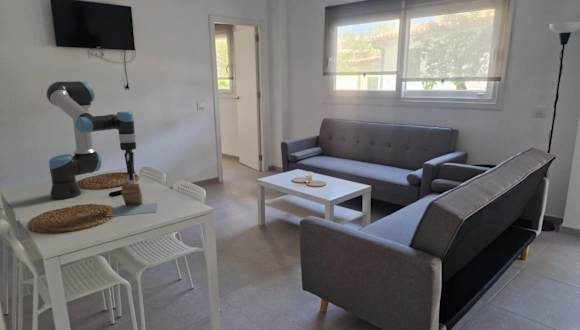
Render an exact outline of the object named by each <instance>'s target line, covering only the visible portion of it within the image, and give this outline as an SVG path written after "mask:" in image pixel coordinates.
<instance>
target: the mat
mask: <svg viewBox="0 0 580 330" xmlns="http://www.w3.org/2000/svg"><path fill="white" fill-rule="evenodd" d="M111 208H113V213H112V214H111V216H112V217H120V216H131V215H140V214H141V215H143V214H150V213H157V209H158V202H157V203H146V204H145V203H144V204H143V203H142V204H141V205H130V206H126V205H122V206H114V207H111Z"/></svg>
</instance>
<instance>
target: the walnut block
mask: <svg viewBox="0 0 580 330" xmlns="http://www.w3.org/2000/svg"><path fill="white" fill-rule="evenodd" d="M121 195H122V199H123V201H124V204H125V205H124V206H132V205H143V195H142V190H141V187H140V184H139V183H135V184H129V183H128V184H121Z"/></svg>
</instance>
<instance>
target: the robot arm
mask: <svg viewBox="0 0 580 330" xmlns="http://www.w3.org/2000/svg"><path fill="white" fill-rule="evenodd" d="M46 98H47V100H48V101H49V102H50V103H51V105H53V106H54V107H58V108H59V109H61V111H63V112H64V113H65V114H66V115H67V116H69V117H70V118H71V119H72V124H73V129H74V139H75V147H76V149H75V150H74V151H73V154H70V153H64V154H60V155H59V154H58V155H57V156H53V157H51V158H50V159H49V161H48V165H49V166H48V168H49V174H50V177H51V184H52V185H51V187H50V188H51V190H50V199H52V200H66V199H72V198H76V197H78V196H80V195H81V194H82V191H81V188H80V186H79V184H78V182H77V180H76V177H77V176H81V175H86V174H92V173H95V172H96V173H97V172H98V171H99V170H100V169H101V167H102V164H103V163H102V157H101V155H100V153H99V152H97V150H96V148H94V146H93V138H92V137H93V136H92V133H93V132H100V131H109V130H110V131H112V130H118V138H119V139H118V140H119V142H120V143H119V146H120V150H121V151H125V153H124V160H125V165H126V175H128V184H136V177H135V173H136V171H135V162H134V155H135V154H134V153H135V152H134V151H133V150H136V149H137V142H136V137H137V135H136V134H135V121H134V115H133V112H132V111H129V110H128V111H125V110H124V111H123V110H122V111H117V112H116V114H114V113H113V114H106V115H105V114H104V115H96V116H95V115H94V116H93V115H92V114H91V113H90V110H89V108H90V107H91V106H92V104H91V103H92V102H94V100H95V92H94V88H93V87H92V86H91V84H90V83H89V82H87V81H82V80H81V81H80V80H75V81H56V82H53V83H51V84H50V85H49V86H48V87H47V90H46Z"/></svg>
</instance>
